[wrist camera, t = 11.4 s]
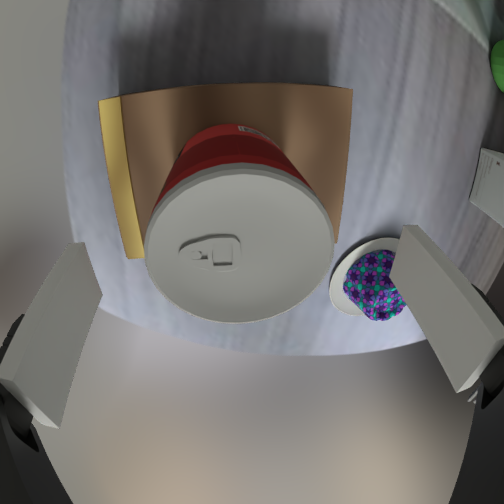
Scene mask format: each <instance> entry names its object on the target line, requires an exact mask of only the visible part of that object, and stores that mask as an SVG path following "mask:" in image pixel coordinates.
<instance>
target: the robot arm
mask: <svg viewBox="0 0 504 504" xmlns="http://www.w3.org/2000/svg"><path fill="white" fill-rule="evenodd" d="M389 278H390V279H391V281H392V282H393V284H394V285H395V287H396V288H397V290H398V291H399V293H400V295H401V296H402V298H403V299H404V301H405V303H406V304H407V306H408V307H409V309H410V311H411V312H412V314H413V316H414V317H415V319H416V320H417V322H418V324H419V326H420V327H421V329H422V331H423V332H424V334H425V336H426V338H427V339H428V341H429V343H430V345H431V346H432V348H433V349H434V352H435V353H436V355H437V357H438V359H439V360H440V363H441V364H442V366H443V368H444V370H445V372H446V374H447V376H448V378H449V379H450V382H451V383H452V385H453V387H454V389H455V391H456V393H458V392H460V391H462V390H465V389H467V388H469V387H471V386H472V385H473V384H474V382H475V381H476V380H477V379H478V378H479V377H480V379H481V381H482V383H481V384H480V385H479V386H478V387H477V389H476V390H475V391H474V392H473V393H472V394H471V395H470V396H469V399H468V401H471V400H472V399H473V398H474V397H475V396H476V395H477V398H476V399H475V401H474V402H473V403H475V404H476V405H475V410H474V416H473V421H472V426H471V430H470V435H469V439H468V443H467V448H466V452H465V455H464V459H463V463H462V466H461V469H460V472H459V476H458V479H457V482H456V485H455V488H454V491H453V493H452V496H451V499H450V501H449V504H504V319H503V318H502V317H501V315H500V314H499V313H498V311H497V310H495V307H494V306H493V305H492V303H491V302H490V303H489V300H488V298H487V297H486V296H485V295H484V293H483V292H482V291H481V290H479V289H478V288H477V287H476V286H474V285H473V284H471V283H470V282H469V281H468V280H467V279H466V277H465V276H464V275H463V274H462V273H461V272H460V270H459V269H458V268H457V267H456V266H455V265H454V264H453V262H452V261H451V260H450V259H449V258H448V257H447V256H446V255H445V254H444V252H443V251H442V250H441V249H440V248H439V247H438V246H437V245H436V244H435V243H434V242H433V241H432V240H431V239H430V238H429V236H428V235H427V234H426V233H425V232H424V231H423V230H422V229H421V228H420V227H419V226H418V225H403V229H402V233H401V237H400V240H399V244H398V248H397V251H396V255H395V258H394V262H393V265H392V269H391V272H390V275H389ZM102 295H103V294H102V292H101V289H100V287H99V284H98V281H97V279H96V276H95V273H94V270H93V267H92V265H91V262H90V259H89V256H88V253H87V250H86V247H85V243H84V242H81V243H69V244H68V245H67V247H66V249H65V250H64V252H63V253H62V254H61V256H60V257H59V259H58V260H57V262H56V263H55V265H54V267H53V268H52V270H51V271H50V273H49V274H48V276H47V278H46V280H45V281H44V283H43V284H42V286H41V287H40V289H39V291H38V293H37V294H36V296H35V298H34V300H33V301H32V303H31V305H30V307H29V308H28V310H27V312H26V314H22V315H21V316H20V317H19V318H18V319H17V320H16V321H15V322H14V323H13V324H12V326H11V328H10V330H9V332H8V334H7V337H6V338H5V340H4V342H3V346H1V348H0V504H73V503H72V501H71V499H70V497H69V496H68V494H67V493H66V491H65V489H64V487H63V485H62V483H61V482H60V480H59V478H58V476H57V474H56V472H55V470H54V468H53V466H52V464H51V462H50V460H49V458H48V456H47V454H46V452H45V449H44V447H43V445H42V443H41V440H40V438H39V436H38V433H37V431H36V429H35V427H34V426H33V424H32V423H31V422H32V419H33V417H34V418H36V419H37V420H38V421H39V422H40V423H41V424H42V425H46V426H50V427H54V428H60V426H61V422H62V417H63V414H64V409H65V406H66V402H67V398H68V394H69V391H70V388H71V384H72V381H73V377H74V374H75V371H76V367H77V364H78V361H79V358H80V355H81V352H82V349H83V346H84V343H85V340H86V337H87V335H88V332H89V329H90V326H91V323H92V321H93V318H94V315H95V313H96V310H97V308H98V305H99V302H100V300H101V297H102Z"/></svg>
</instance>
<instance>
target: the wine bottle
mask: <svg viewBox="0 0 504 504" xmlns="http://www.w3.org/2000/svg"><path fill="white" fill-rule="evenodd" d="M491 70H492V74H493V77H494V80H495V82H496V84H497V86H498V87H499V89H500V90H501V91H502V92H503V93H504V40H501V41H498V42H497V43H496V44H495V45H494V47H493V49H492V52H491Z"/></svg>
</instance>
